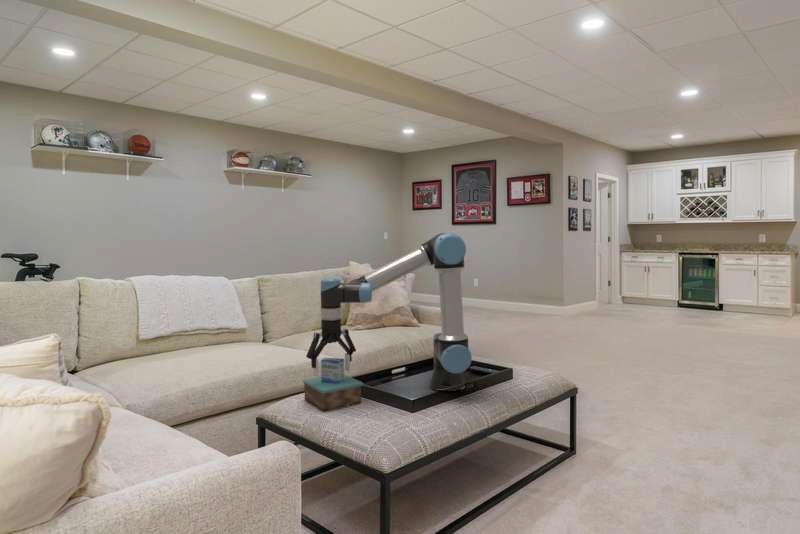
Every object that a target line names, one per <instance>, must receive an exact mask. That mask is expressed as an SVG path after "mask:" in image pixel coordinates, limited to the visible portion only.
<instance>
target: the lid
mask: <svg viewBox="0 0 800 534" xmlns="http://www.w3.org/2000/svg"><path fill="white" fill-rule="evenodd" d="M302 383H303V384H306V385H308V386H310V387H312V388H314V389H315V390H317V391H319V392H321V393H323V394H324V393H329V392H334V391H339V390H344V389H348V388H353V387H358V386H361V387H362V386H364V382H362V381H360V380H358V379H356V378H354V377H351V376H349V375H347V374H345V373H344V380H343V381H342V382H341V383H331V382H322V381H321V376H319V377H314V378H308V379H304V380H302Z"/></svg>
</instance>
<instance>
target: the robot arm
mask: <svg viewBox="0 0 800 534" xmlns="http://www.w3.org/2000/svg"><path fill="white" fill-rule="evenodd" d="M466 253H467V246H466V243H465V241H464V240H463V238H461V236H460V235H458V234H456V233H453V232H443V233H441V232H440V233H438V234H437V235H435V236H433V237H432V238H430V239H428V240H427V241H425V242H423V243H422V244H420V245H419V247H418V248H417V249H415V250H413V251H411V252H408V253H407V254H405V255H403V256H400V257H398V258H397V259H394V260H392V261H391V262H389V263H387V264H384V265H382V266H380V267H378V268H376V269H374V270H372V271H370V272H368V273H366V274H363V275H362V276H360V277H358V278H354V279H352V280H350V281H349V282H348V283H347V282H342V281H341V279H340V277H339V278H338V277H325V278H323V279H321V280H320V308H321V309H320V317H321V323H320V325H321V332H314V333H313V339H312V341H311V344H310V346H309V348H308V351H307V353H306V358H307V359H310V361H311V364H310V365H311V369H313V376H314V377H315V378H318V377H320V374H319V372H320V371H319V359H318V358H319V356H320V354H321V352H322V351H323V350H324V348H325V346H327V344H332V343H334V344H335V343H338V345H339V346H340V347H341V348H342V349H343V350H344V351H345V353H344V371H347V372H351V362H353V361H352V360H353V359H352V357H353V356H352V355H353V354H354V353H355V352H356V351H357V349H356V346H355V345H354V342H353V340H352V339H351V336H350V334H349V329H347V328H343V329H342V319H341V318H342V308H341V307H342V305H341V304H346V303H348V304H349V303H351V304H352V303H353V304H354V303H355V304H356V303H358V304H359V303H360V304H361V303H362V304H364V303H370V302H371V301H373V300H372V299H373V297H372V296H373V292H374V291H377V290H378V289H380V288H382V287H384V286H387V285H389V284H390V283H393V282H395V281H396V280H398V279H401V278H404V277H405V276H407V275H410V274H411V273H413V272H415V271H418V270H419V269H421V268H424V267H425V266H429V267H431V266H433V267H434V270H435V271H436V272H437V273H438V289H439V305H440V306H439V307H440V321H441V323H440V324H441V332H437V333H434V334H433V339H432V340H433V370H432V373H431V378H430V380H429V388H430V387H431V388H434V389H444V388H448V387H452V386H455V385H459V384H462V383H465V382H466V380H465V376H464V372H466V370H467V369H468V368H469V367H470V365H471V363H472V353H471V351H470V348H469V336H468V335H467V334H466V333H465V332H464V331H465V330H464V328H465V327H464V313H463V311H464V310H463V293H462V289H463V288H462V274H461V273H462V271H463V269H464V268H465V255H466ZM341 336H343V337H344V339H345V342H346V343H345V342H344V341H343V338H341ZM319 341H320V342H319ZM431 388H430V389H431Z"/></svg>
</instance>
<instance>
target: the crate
mask: <svg viewBox="0 0 800 534" xmlns="http://www.w3.org/2000/svg"><path fill="white" fill-rule="evenodd" d="M303 384H304V383H303ZM303 389H304V401H306V402H307V403H308V404H310V405H312V406H313V407H315V408H317V409H318V410H320V411H321V412H328V411H332V410H331V409H333V410H336V409H335V408H337V409H340V407H342V408H345V407H344V406H346V407H348V406H347V405H350V406H353V405H352V404H355V405H358V404H357V403H359V404H361V403H362V386H358V387H353V388H348V389H344V390H339V391H334V392H329V393H324V394H323V393H321V392H319V391H317V390H315V389H314V388H312V387H310V386H308V385H306V384H304V388H303Z"/></svg>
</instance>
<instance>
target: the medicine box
mask: <svg viewBox="0 0 800 534" xmlns="http://www.w3.org/2000/svg"><path fill="white" fill-rule="evenodd" d="M344 374H345V358H338V357H337V358H336V357H324V358H322V359H321V360H320V377H321V381H322V382H331V383H341V382H342V381H343V380H344Z"/></svg>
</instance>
